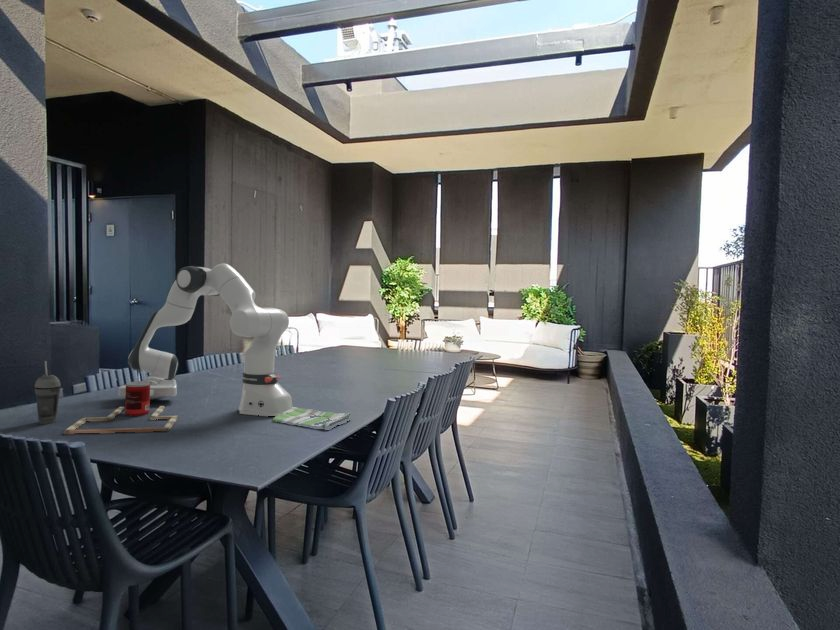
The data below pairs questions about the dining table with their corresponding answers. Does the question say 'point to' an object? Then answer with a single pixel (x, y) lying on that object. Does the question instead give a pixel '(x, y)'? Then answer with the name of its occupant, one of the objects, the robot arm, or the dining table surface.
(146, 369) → the robot arm
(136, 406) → the canned food
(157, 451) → the dining table surface
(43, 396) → the beverage cup
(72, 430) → the t outline
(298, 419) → the dish towel
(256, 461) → the dining table surface
